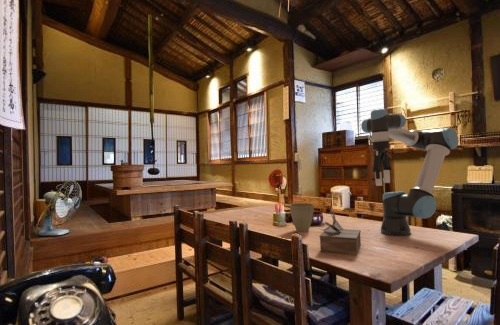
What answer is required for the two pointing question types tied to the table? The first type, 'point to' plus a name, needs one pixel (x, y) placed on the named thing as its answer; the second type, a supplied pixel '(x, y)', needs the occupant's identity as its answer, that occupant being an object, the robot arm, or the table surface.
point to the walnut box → (340, 241)
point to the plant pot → (302, 216)
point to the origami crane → (334, 224)
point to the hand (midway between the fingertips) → (383, 184)
